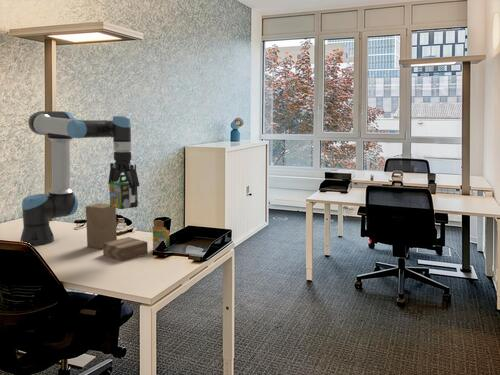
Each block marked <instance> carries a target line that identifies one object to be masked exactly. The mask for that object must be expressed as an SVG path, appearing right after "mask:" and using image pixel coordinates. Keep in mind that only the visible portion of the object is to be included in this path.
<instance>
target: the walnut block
mask: <svg viewBox="0 0 500 375" xmlns="http://www.w3.org/2000/svg"><path fill="white" fill-rule="evenodd" d="M148 248H149V247H148V241H145V240H141V239H138V238H133V237H130V236H128V237H121V238H117V240H113V241H109V242H105V243H103V249H102V254H103V256H105V257H108V258H112V259H115V260H117V261H121V262H123V261H124V262H125V261H128V260H130V259H135V258H139V257H143V256H146V255H148V254H149V253H148V252H149V251H148Z"/></svg>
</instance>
